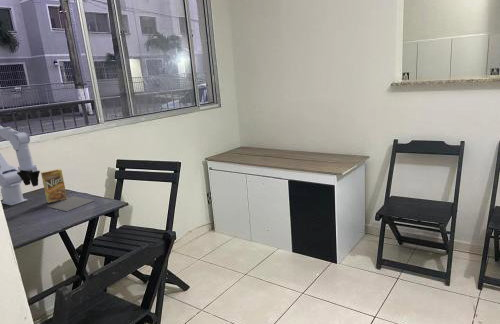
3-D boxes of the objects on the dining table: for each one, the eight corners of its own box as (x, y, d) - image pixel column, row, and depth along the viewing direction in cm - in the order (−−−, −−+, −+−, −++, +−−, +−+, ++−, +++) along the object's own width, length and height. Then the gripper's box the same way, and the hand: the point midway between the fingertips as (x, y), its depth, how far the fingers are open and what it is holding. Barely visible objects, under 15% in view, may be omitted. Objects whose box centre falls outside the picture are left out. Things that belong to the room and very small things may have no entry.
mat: (46, 206, 175) (46, 206, 175) (74, 196, 188) (74, 196, 188) (66, 211, 167) (66, 211, 167) (94, 200, 180) (94, 200, 180)
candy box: (47, 203, 179) (41, 172, 176) (46, 201, 182) (40, 171, 180) (67, 199, 184) (61, 169, 181) (66, 197, 187) (60, 168, 184)
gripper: (40, 156, 172) (47, 183, 175) (26, 155, 181) (32, 182, 184) (25, 159, 167) (32, 188, 170) (10, 159, 175) (17, 186, 178)
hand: (31, 185), depth 176 cm, fingers open, 7 cm apart
